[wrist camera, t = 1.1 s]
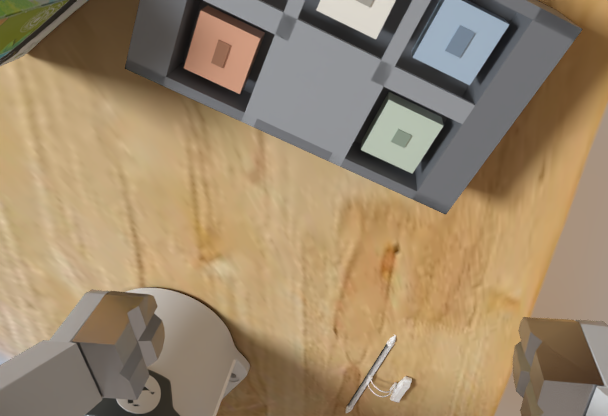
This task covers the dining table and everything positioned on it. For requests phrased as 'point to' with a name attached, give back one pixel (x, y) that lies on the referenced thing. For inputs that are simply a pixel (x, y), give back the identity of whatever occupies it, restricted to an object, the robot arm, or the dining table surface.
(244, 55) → the key terracotta
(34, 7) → the tea box
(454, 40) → the key blue
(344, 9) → the key cream
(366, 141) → the key sage
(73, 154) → the dining table surface
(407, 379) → the picture light
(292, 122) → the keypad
